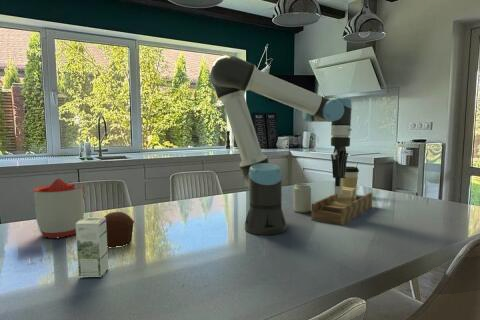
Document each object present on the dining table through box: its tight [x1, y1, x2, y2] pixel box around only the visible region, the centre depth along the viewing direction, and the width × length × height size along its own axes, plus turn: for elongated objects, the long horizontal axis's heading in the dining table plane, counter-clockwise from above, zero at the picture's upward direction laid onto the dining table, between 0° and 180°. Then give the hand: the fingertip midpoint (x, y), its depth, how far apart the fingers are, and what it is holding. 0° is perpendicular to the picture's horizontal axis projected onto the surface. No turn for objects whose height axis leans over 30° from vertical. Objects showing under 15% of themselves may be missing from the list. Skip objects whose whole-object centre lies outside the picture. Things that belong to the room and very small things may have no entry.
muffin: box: [103, 211, 135, 247], centre depth 111 cm, size 12×11×10 cm
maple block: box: [337, 187, 357, 204], centre depth 148 cm, size 6×6×6 cm
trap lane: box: [311, 191, 373, 226], centre depth 146 cm, size 36×13×6 cm, turn 143°
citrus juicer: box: [32, 178, 88, 239], centre depth 122 cm, size 16×17×20 cm
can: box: [293, 182, 312, 214], centre depth 150 cm, size 8×8×12 cm
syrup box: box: [75, 216, 110, 277], centre depth 88 cm, size 6×6×14 cm
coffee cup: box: [343, 166, 360, 189], centre depth 181 cm, size 10×10×15 cm
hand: (338, 193), depth 141 cm, fingers closed
